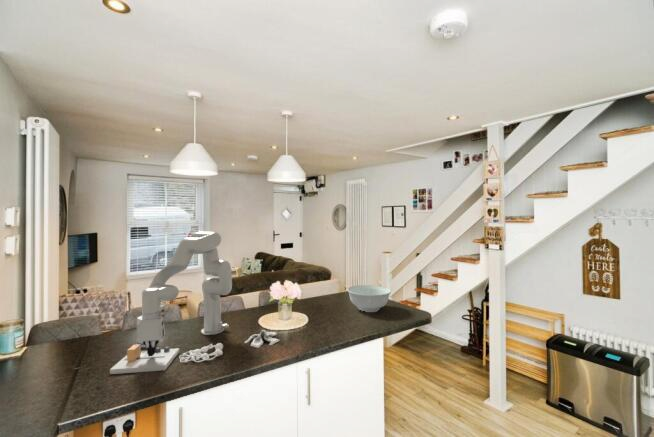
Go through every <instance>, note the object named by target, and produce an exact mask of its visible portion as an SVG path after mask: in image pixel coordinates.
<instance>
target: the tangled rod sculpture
mask: <svg viewBox="0 0 654 437" xmlns="http://www.w3.org/2000/svg"><path fill="white" fill-rule="evenodd" d="M213 348H214V349H215V351H214V352H211V353H207V352H208V351H209V350H210V349H213ZM223 348H224V344H223V343H221V342H218V343H216V344H214V345H213V343H210V344H209V345H207V346H203V347H201V348H196V349H193V350H192V349H190V350H189V351H186V352H183V353H182V354H180V355H179V357H178V359H179V362H180V363H184V364H186V363H187V364H188V362H190V361H193V362H195V363H201V362H204V361H212V360H214V359H215V358H216V357H220V356H222V355H223V354H224V352H223ZM188 353H189V354H188ZM211 356H214V357H212V358H210V357H211ZM200 359H201V360H200Z"/></svg>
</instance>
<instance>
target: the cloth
mask: <svg viewBox="0 0 654 437" xmlns="http://www.w3.org/2000/svg"><path fill="white" fill-rule="evenodd" d="M276 335H277V336H278V333H277V332H274V331H266V330H265V329H261V331H260V332H259V333H258V334H256V333H255V334H252V335H250V337H249V338H248V339H246V340H245V341H244V344H248V343H250V342H251V343H250V347H252V348H253V347H254V348H258V349H259V348H260V347H261V346H263V345H264V343H265V342H267V343H268V345H269V346H271V345H272V346H273V345H274V344H277V343H278V342H280V339H278V338H275V336H276ZM273 337H274V338H273Z"/></svg>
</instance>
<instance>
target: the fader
mask: <svg viewBox="0 0 654 437" xmlns="http://www.w3.org/2000/svg"><path fill="white" fill-rule="evenodd" d="M141 351H142V347H141V344H133V345H131V346H130V347H129V348H128V349H127V350H126V355H127V361H135V360H136V359H137V358H138V357H139V356H140V355H141Z"/></svg>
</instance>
